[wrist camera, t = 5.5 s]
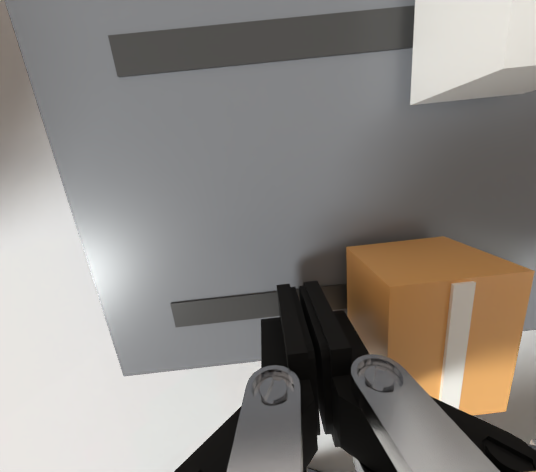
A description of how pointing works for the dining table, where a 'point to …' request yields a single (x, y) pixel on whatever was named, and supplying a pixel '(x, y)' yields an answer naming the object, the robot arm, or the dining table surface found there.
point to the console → (258, 159)
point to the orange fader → (442, 316)
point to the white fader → (472, 49)
